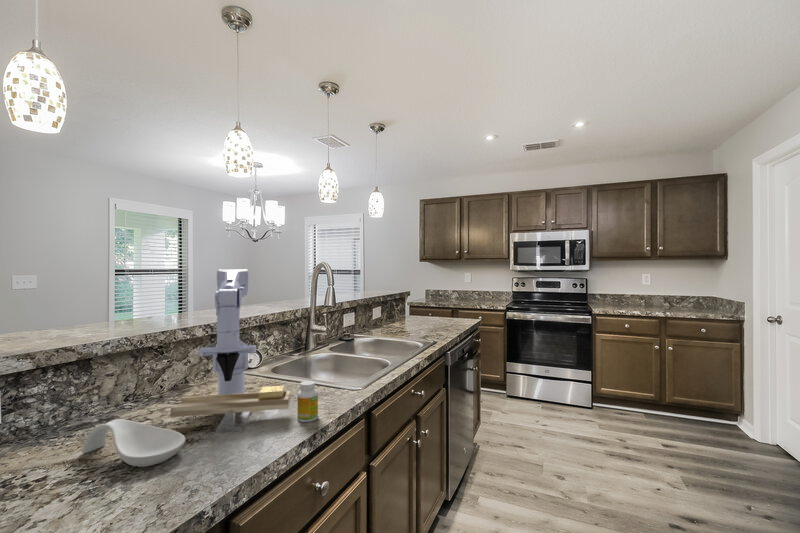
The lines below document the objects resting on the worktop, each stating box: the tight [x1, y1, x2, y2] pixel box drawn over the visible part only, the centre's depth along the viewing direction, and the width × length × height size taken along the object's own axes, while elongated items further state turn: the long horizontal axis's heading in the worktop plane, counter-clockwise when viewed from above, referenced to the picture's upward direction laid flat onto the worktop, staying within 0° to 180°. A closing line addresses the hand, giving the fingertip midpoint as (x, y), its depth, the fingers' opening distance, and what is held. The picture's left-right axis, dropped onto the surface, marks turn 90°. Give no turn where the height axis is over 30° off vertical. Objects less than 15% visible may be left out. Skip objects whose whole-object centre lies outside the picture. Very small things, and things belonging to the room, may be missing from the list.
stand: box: [215, 411, 252, 434], centre depth 97 cm, size 12×6×5 cm, turn 12°
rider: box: [258, 385, 285, 400], centre depth 99 cm, size 5×6×3 cm
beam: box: [170, 389, 292, 418], centre depth 97 cm, size 8×28×3 cm, turn 102°
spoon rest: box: [81, 418, 186, 468], centre depth 79 cm, size 24×12×7 cm, turn 75°
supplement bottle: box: [296, 380, 319, 423], centre depth 99 cm, size 5×5×10 cm
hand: (228, 380), depth 101 cm, fingers closed
